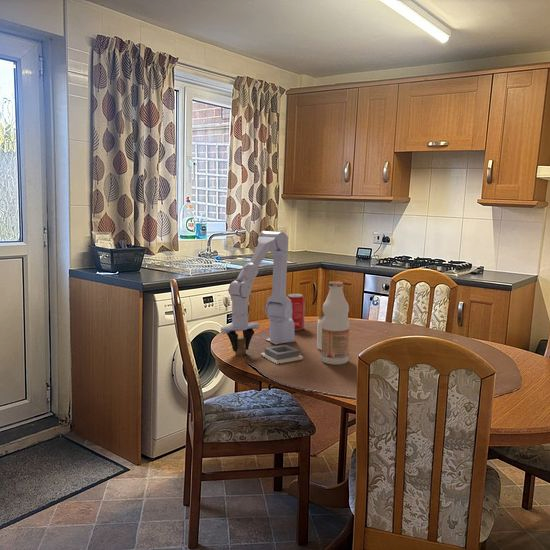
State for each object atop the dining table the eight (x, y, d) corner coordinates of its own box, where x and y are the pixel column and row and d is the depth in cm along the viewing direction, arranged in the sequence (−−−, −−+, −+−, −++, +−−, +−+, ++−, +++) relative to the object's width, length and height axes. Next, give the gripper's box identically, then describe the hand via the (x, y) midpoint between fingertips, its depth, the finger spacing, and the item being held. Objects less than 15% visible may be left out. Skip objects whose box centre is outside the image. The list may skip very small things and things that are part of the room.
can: (314, 347, 205) (314, 316, 204) (329, 345, 208) (329, 315, 206) (322, 352, 199) (322, 320, 198) (337, 349, 202) (337, 318, 200)
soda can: (284, 330, 231) (284, 296, 228) (288, 326, 238) (289, 292, 236) (301, 331, 228) (302, 297, 226) (306, 327, 236) (306, 293, 233)
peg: (243, 352, 200) (242, 336, 199) (247, 354, 196) (247, 338, 195) (233, 353, 198) (233, 337, 197) (238, 356, 194) (237, 340, 193)
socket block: (286, 351, 200) (286, 343, 200) (302, 359, 191) (303, 351, 190) (260, 355, 195) (260, 347, 194) (276, 364, 185) (276, 355, 185)
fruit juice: (316, 362, 188) (317, 283, 183) (329, 355, 195) (331, 279, 191) (340, 367, 182) (341, 285, 178) (353, 360, 190) (354, 281, 186)
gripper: (226, 318, 187) (227, 355, 190) (262, 313, 195) (263, 349, 197) (218, 314, 193) (218, 350, 196) (253, 309, 201) (254, 345, 203)
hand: (240, 350), depth 197 cm, fingers closed on peg, 4 cm apart
